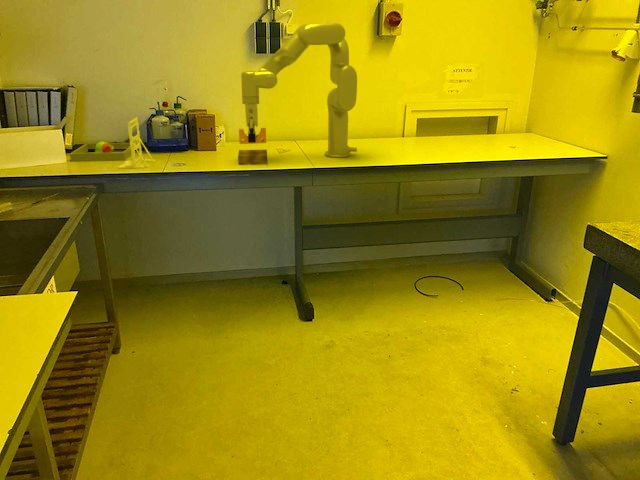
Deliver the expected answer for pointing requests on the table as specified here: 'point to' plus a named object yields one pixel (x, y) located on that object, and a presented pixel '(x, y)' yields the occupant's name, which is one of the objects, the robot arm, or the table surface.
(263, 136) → the pipe clamp
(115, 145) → the grey square tray
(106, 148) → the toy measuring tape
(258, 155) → the walnut block
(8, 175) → the table surface
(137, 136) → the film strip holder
